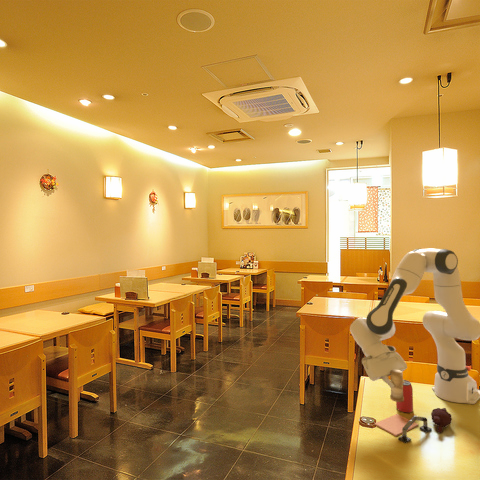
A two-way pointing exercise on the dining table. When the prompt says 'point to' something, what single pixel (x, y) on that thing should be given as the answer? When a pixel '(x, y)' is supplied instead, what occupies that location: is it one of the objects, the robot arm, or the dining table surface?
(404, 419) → the tile
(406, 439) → the bent metal handle
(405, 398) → the beer can
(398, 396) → the birch post
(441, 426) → the icecream
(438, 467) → the dining table surface
